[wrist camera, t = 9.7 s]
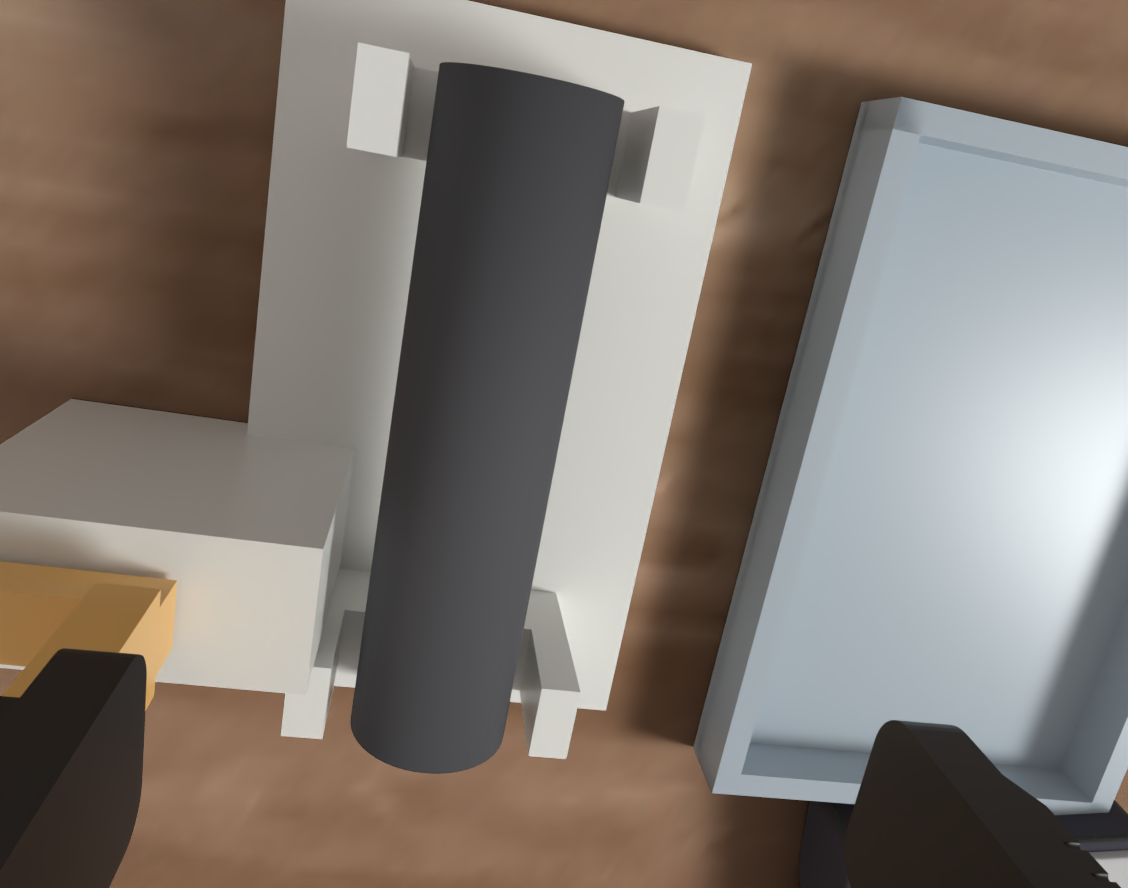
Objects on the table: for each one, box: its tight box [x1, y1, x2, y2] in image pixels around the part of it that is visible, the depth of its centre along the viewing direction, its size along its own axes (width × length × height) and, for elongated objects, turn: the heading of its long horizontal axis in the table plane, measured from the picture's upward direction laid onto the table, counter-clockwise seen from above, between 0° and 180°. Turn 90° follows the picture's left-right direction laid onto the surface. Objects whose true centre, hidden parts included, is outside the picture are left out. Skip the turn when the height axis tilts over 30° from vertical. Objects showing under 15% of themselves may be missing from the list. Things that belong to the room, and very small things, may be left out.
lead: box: [351, 62, 624, 774], centre depth 22 cm, size 16×4×4 cm, turn 169°
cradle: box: [0, 0, 752, 759], centre depth 23 cm, size 20×17×8 cm
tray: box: [693, 97, 1128, 815], centre depth 29 cm, size 22×15×2 cm
